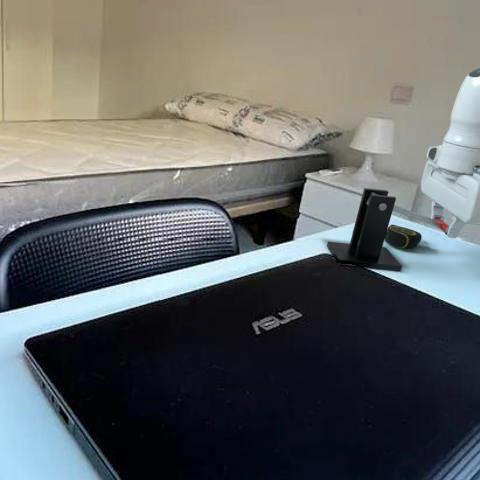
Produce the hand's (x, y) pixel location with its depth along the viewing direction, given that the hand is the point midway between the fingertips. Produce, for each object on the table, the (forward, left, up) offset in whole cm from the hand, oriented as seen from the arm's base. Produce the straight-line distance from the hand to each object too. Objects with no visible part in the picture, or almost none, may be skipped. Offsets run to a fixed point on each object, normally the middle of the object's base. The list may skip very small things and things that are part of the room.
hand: (442, 230), depth 97 cm
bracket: (+14, 0, -8) cm, 16 cm away
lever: (+8, 0, +1) cm, 8 cm away
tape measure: (+3, -10, -8) cm, 13 cm away
